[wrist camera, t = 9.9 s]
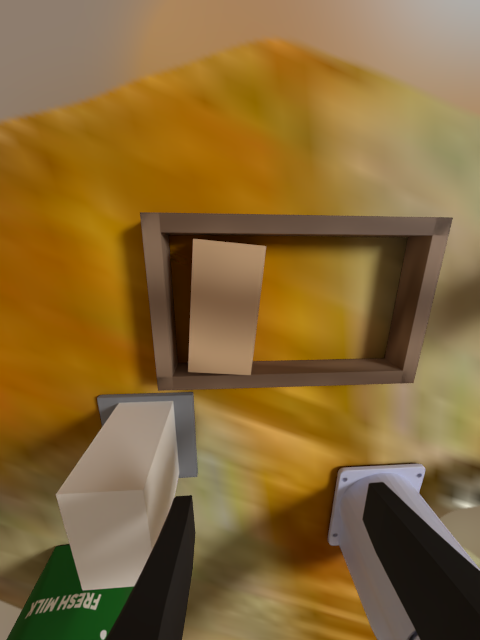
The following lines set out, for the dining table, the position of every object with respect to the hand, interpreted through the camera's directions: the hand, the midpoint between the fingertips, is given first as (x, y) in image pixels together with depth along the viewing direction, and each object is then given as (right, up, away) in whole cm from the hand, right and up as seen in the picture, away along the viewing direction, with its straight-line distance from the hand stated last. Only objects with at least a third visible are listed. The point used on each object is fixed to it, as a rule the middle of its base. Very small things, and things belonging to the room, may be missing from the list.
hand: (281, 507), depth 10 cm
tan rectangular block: (-3, +9, +7) cm, 12 cm away
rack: (+2, +9, +7) cm, 12 cm away
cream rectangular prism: (-9, -2, +9) cm, 13 cm away
